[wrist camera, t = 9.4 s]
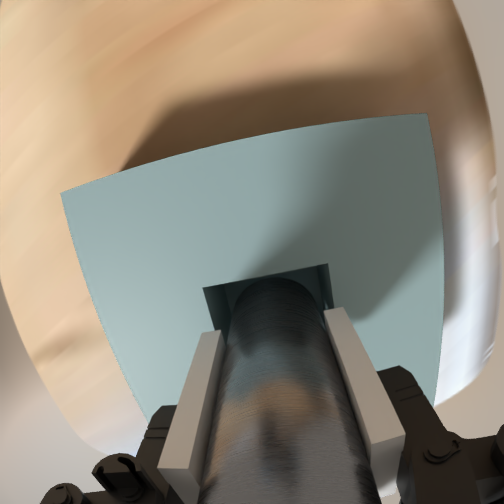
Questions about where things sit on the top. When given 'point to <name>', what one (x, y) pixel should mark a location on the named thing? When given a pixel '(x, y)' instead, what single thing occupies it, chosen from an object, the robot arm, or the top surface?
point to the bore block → (268, 244)
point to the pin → (283, 409)
